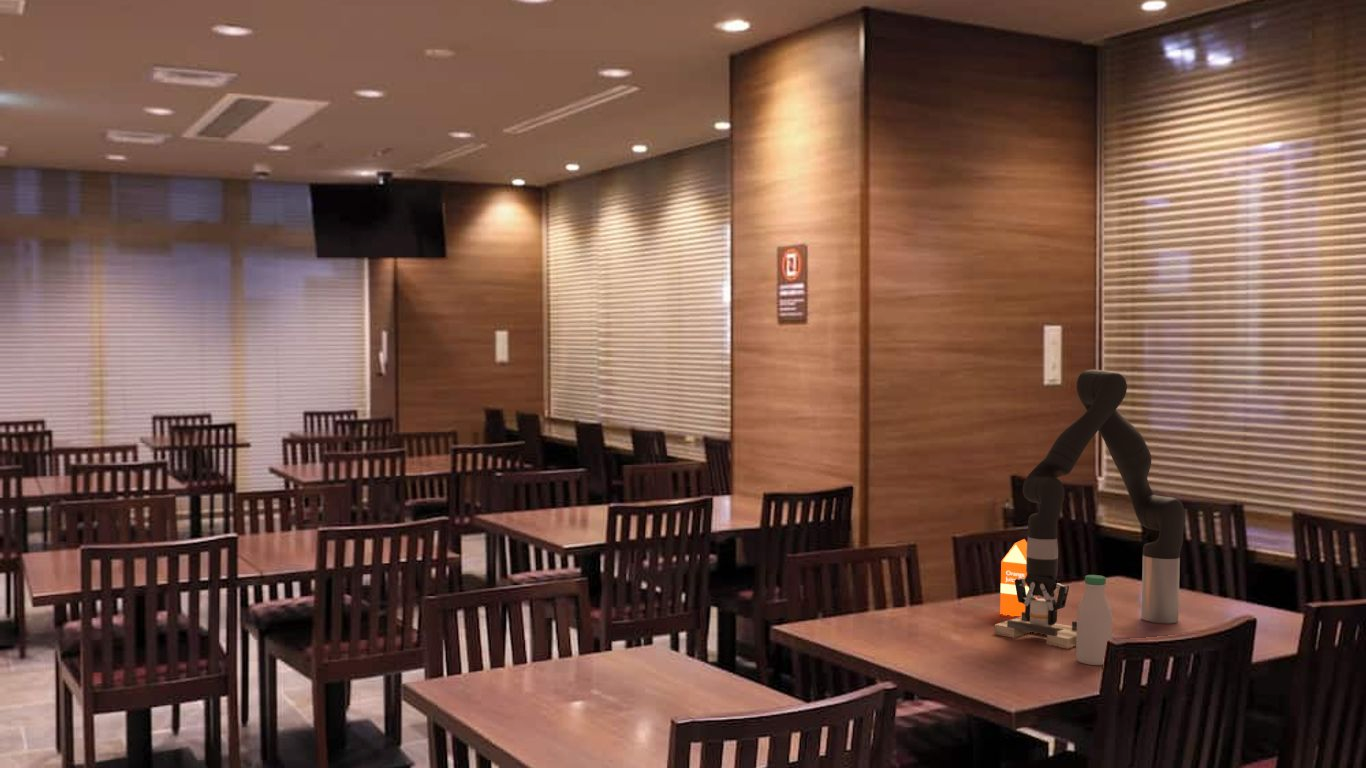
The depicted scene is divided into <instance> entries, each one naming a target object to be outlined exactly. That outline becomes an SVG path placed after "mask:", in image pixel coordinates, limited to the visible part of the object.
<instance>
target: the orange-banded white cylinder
mask: <svg viewBox="0 0 1366 768" xmlns="http://www.w3.org/2000/svg"><path fill="white" fill-rule="evenodd" d="M1048 610H1049V607H1048V604H1047V602H1046V601H1045V598H1037V599H1031V600H1030V624H1034V625H1040V626H1045V627H1050V628H1052V625H1048Z"/></svg>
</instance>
